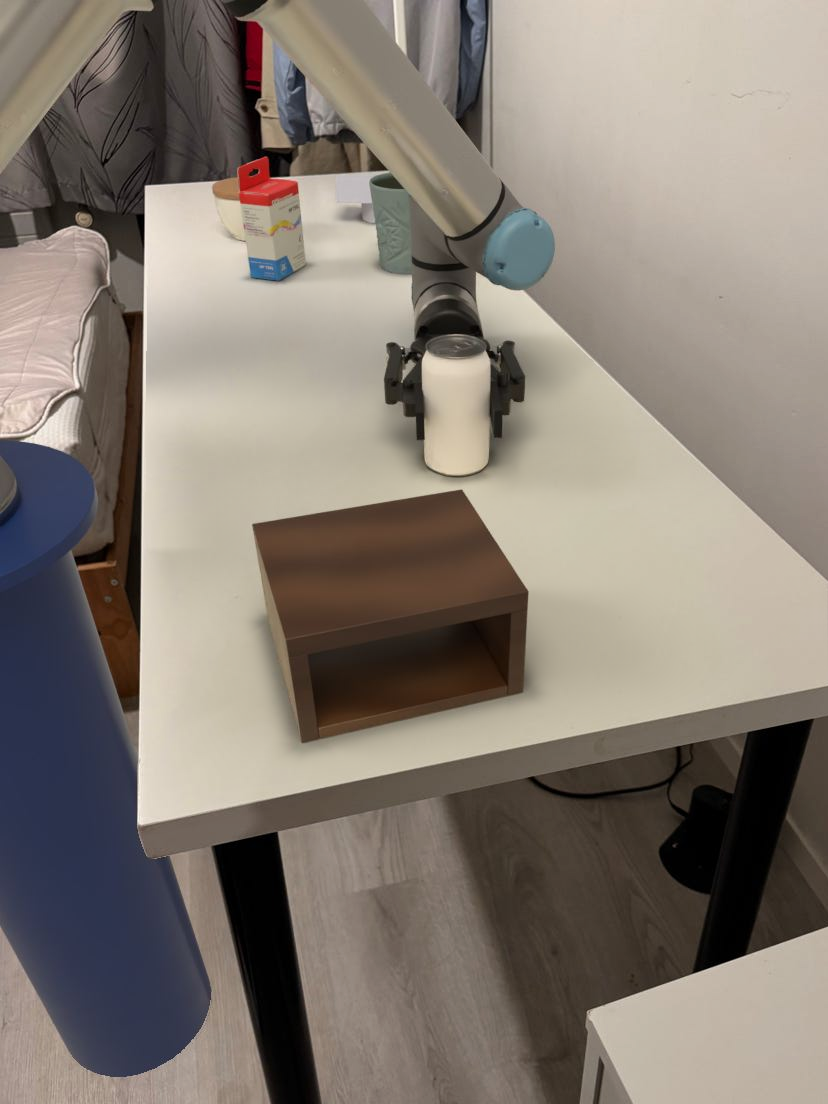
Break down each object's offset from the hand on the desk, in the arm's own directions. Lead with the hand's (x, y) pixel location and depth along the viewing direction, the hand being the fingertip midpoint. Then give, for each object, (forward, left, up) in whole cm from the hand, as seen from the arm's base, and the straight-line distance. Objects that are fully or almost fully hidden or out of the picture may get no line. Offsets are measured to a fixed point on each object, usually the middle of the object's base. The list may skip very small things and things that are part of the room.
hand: (459, 425), depth 85 cm
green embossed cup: (-66, +13, -7) cm, 68 cm away
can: (-5, +1, -7) cm, 8 cm away
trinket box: (-88, -7, -7) cm, 88 cm away
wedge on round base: (-93, +15, -7) cm, 94 cm away
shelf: (+22, -13, -6) cm, 26 cm away
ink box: (-69, -6, -7) cm, 69 cm away
